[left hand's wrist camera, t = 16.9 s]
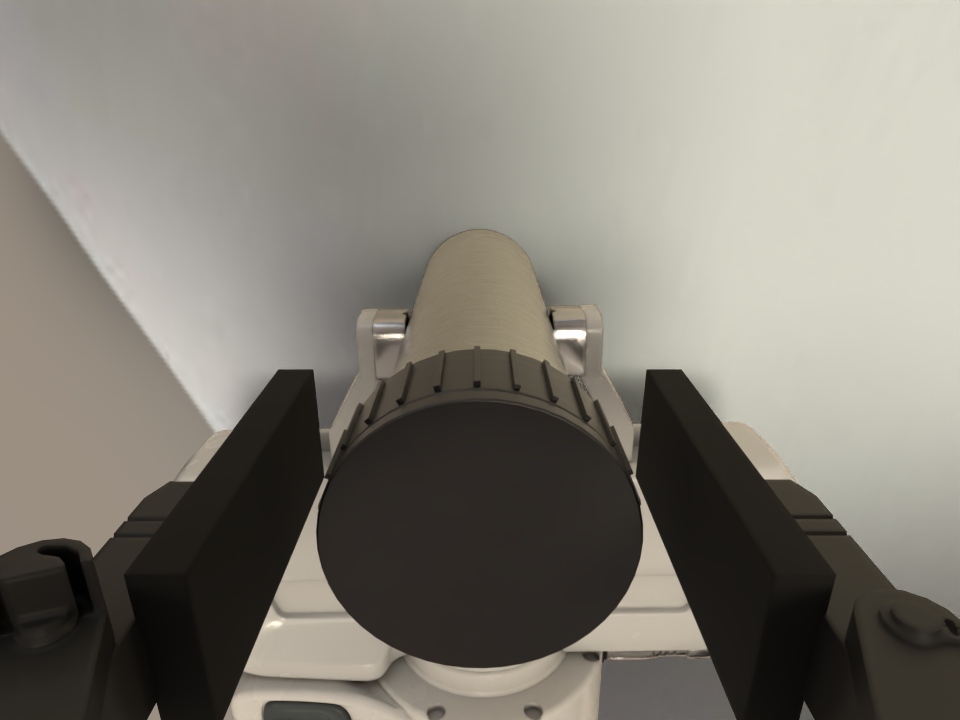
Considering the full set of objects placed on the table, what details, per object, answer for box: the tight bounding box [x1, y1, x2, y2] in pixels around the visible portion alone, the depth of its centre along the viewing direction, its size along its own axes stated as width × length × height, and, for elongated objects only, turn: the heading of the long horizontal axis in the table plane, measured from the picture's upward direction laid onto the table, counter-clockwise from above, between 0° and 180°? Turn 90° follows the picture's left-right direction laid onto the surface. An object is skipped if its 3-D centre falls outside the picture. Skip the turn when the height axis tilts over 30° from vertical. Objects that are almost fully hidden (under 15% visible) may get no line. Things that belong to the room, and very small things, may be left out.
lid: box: [316, 346, 643, 668], centre depth 11 cm, size 6×6×2 cm
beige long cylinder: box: [391, 230, 568, 377], centre depth 18 cm, size 4×4×16 cm
